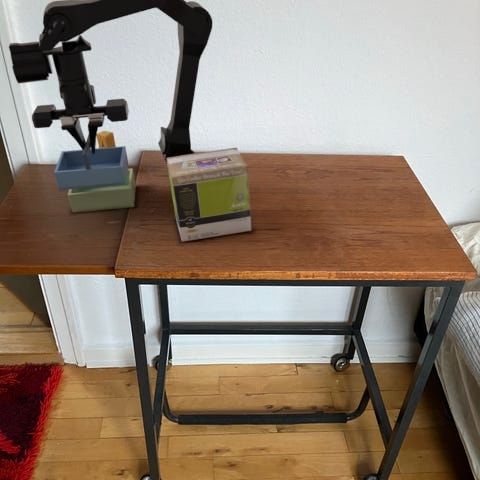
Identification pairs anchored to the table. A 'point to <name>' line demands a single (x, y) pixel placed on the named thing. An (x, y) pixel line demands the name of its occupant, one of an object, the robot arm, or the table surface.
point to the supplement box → (105, 139)
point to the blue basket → (91, 167)
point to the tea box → (210, 193)
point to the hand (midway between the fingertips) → (90, 153)
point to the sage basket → (104, 196)
